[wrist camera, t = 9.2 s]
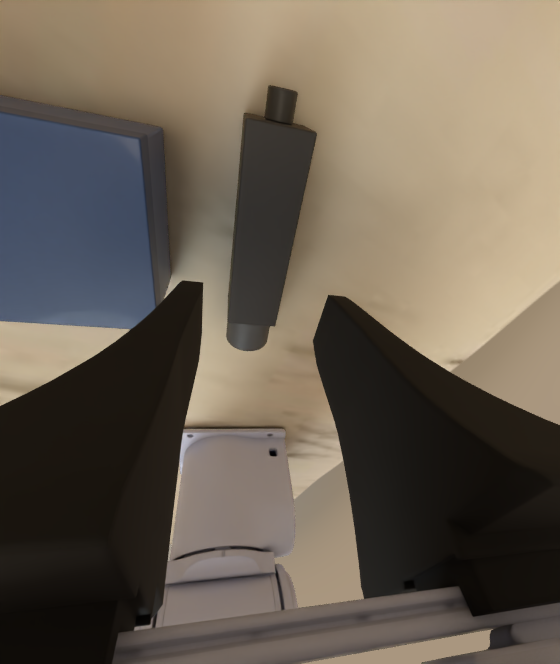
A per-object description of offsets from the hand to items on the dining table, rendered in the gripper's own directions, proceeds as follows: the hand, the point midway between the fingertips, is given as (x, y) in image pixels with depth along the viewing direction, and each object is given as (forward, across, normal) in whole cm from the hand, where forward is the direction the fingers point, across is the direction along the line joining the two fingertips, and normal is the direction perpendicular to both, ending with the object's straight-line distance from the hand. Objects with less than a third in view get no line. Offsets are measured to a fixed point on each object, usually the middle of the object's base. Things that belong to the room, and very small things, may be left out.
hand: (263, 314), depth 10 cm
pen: (+7, 0, 0) cm, 7 cm away
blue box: (+7, +9, 0) cm, 12 cm away
